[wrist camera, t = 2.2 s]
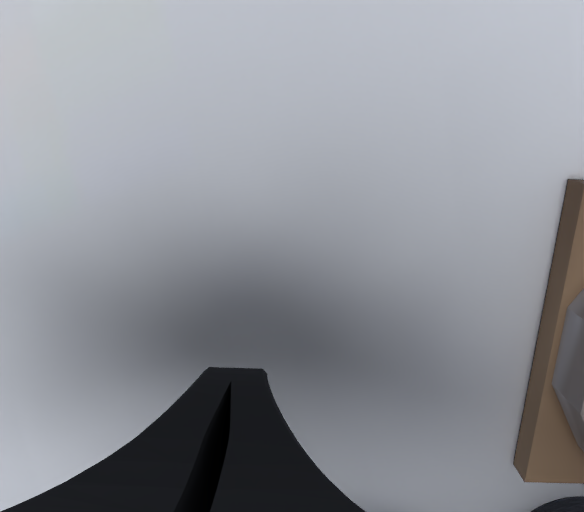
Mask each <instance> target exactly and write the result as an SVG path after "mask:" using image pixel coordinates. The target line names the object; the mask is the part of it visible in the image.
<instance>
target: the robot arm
mask: <svg viewBox="0 0 584 512" xmlns="http://www.w3.org/2000/svg"><path fill="white" fill-rule="evenodd" d="M1 512H365V511H364V510H363V509H361V508H360V507H359V506H357V505H356V504H355V503H354V502H352V501H351V500H350V499H349V498H348V497H347V496H346V495H344V494H343V493H342V492H341V491H340V490H339V489H338V488H337V487H336V486H335V485H334V484H333V483H332V482H331V481H330V480H329V479H328V478H327V477H326V476H325V475H324V474H323V473H322V472H321V470H320V469H319V468H318V467H317V466H316V465H315V463H314V462H313V461H312V460H311V459H310V457H309V456H308V455H307V453H306V452H305V451H304V449H303V448H302V447H301V445H300V444H299V442H298V441H297V439H296V438H295V436H294V435H293V433H292V431H291V430H290V428H289V427H288V425H287V423H286V421H285V420H284V418H283V416H282V414H281V412H280V410H279V408H278V406H277V404H276V402H275V399H274V397H273V395H272V392H271V389H270V386H269V383H268V379H267V373H266V372H265V371H264V370H263V369H250V368H217V367H209V368H208V369H206V370H205V371H204V372H203V373H202V374H201V375H200V377H199V378H198V379H197V380H196V381H195V382H194V383H193V384H192V385H191V386H190V387H189V389H188V390H187V391H186V392H185V393H184V394H183V395H182V396H181V397H180V398H179V399H178V400H177V401H176V402H175V403H174V404H173V405H172V406H171V407H170V408H169V409H168V410H167V411H166V412H165V413H163V414H162V415H161V416H160V417H159V418H158V419H157V420H156V421H154V422H153V423H152V424H151V425H150V426H149V427H148V428H146V429H145V430H144V431H143V432H142V433H141V434H139V435H138V436H137V437H136V438H134V439H133V440H132V441H130V442H129V443H127V444H126V445H125V446H123V447H122V448H120V449H119V450H117V451H116V452H114V453H113V454H112V455H110V456H109V457H107V458H105V459H104V460H102V461H101V462H99V463H97V464H95V465H94V466H92V467H90V468H88V469H87V470H85V471H83V472H82V473H80V474H78V475H76V476H75V477H73V478H71V479H69V480H68V481H66V482H64V483H62V484H60V485H58V486H56V487H54V488H52V489H50V490H48V491H46V492H44V493H42V494H40V495H38V496H35V497H33V498H31V499H29V500H27V501H24V502H22V503H20V504H18V505H15V506H13V507H11V508H8V509H6V510H3V511H1Z"/></svg>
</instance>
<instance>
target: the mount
mask: <svg viewBox="0 0 584 512" xmlns="http://www.w3.org/2000/svg"><path fill="white" fill-rule="evenodd" d="M514 466H515V468H516V469H517V471H518V472H519V474H520V475H521V477H522V479H523V480H524V482H544V483H583V484H584V180H572V179H568V183H567V189H566V194H565V199H564V204H563V209H562V215H561V220H560V225H559V230H558V235H557V241H556V246H555V251H554V256H553V261H552V266H551V272H550V277H549V282H548V287H547V292H546V298H545V303H544V308H543V313H542V318H541V324H540V329H539V334H538V339H537V344H536V350H535V355H534V360H533V365H532V370H531V376H530V381H529V386H528V391H527V396H526V401H525V407H524V412H523V417H522V422H521V427H520V433H519V438H518V443H517V448H516V453H515V459H514Z"/></svg>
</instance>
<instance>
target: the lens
mask: <svg viewBox="0 0 584 512" xmlns="http://www.w3.org/2000/svg"><path fill="white" fill-rule="evenodd" d="M532 512H584V497H570V498H563V499H559V500H555V501H552V502H550V503H547V504H545V505H542V506H540V507H538V508H537V509H535V510H533V511H532Z"/></svg>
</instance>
